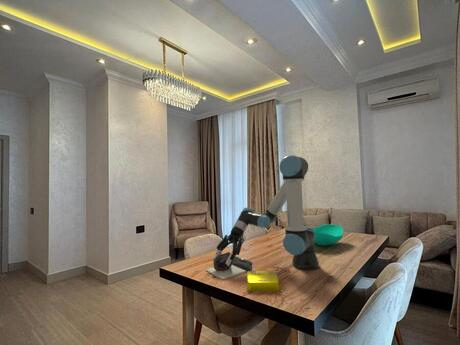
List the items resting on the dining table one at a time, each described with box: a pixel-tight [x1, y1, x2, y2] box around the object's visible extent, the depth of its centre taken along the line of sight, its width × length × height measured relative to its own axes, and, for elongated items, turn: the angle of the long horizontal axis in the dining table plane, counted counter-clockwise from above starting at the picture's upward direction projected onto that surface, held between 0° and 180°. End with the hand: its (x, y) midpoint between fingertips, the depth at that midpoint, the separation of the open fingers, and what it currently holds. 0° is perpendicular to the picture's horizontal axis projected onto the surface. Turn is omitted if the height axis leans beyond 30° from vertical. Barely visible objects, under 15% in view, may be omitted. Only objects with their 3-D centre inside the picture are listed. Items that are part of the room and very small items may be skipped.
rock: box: [213, 251, 233, 271], centre depth 133 cm, size 12×9×10 cm
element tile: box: [246, 270, 280, 292], centre depth 114 cm, size 15×15×5 cm
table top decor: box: [313, 223, 345, 247], centre depth 185 cm, size 40×28×13 cm
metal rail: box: [232, 255, 253, 272], centre depth 139 cm, size 17×2×5 cm, turn 37°
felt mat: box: [205, 264, 247, 281], centre depth 132 cm, size 17×16×1 cm
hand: (220, 262), depth 131 cm, fingers closed on rock, 9 cm apart
